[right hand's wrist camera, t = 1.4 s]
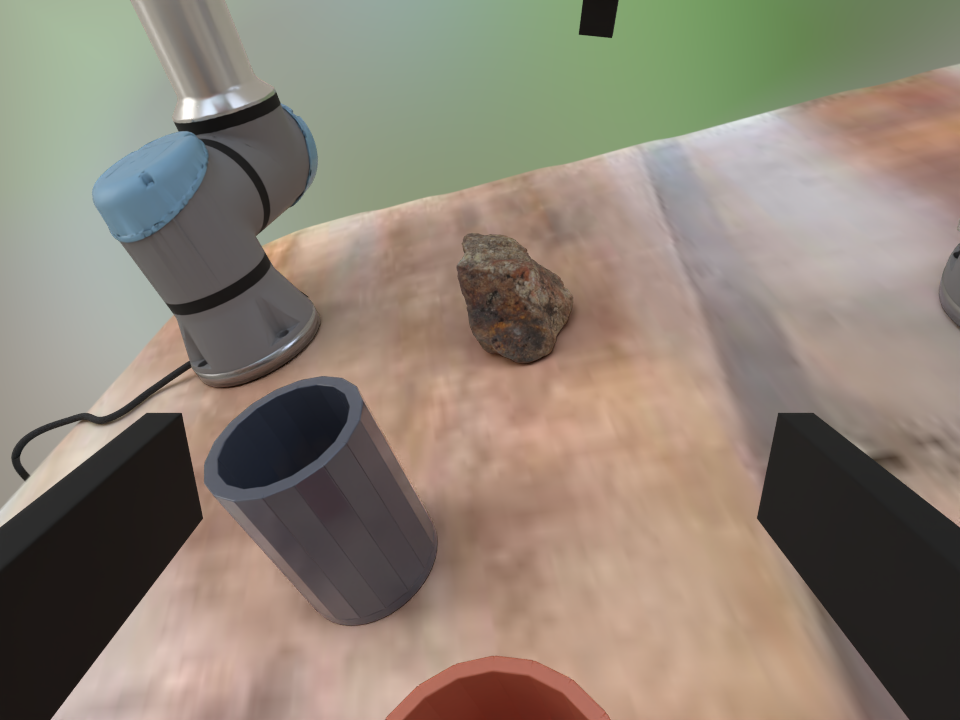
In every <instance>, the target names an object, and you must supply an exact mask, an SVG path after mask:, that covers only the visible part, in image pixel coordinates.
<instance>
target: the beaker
mask: <svg viewBox="0 0 960 720" xmlns="http://www.w3.org/2000/svg"><path fill="white" fill-rule="evenodd" d="M204 484H205V485H206V486H207V488H208V489H209V490H210V492H211V493H212V494H213V496H214V497H215V498H216V499H217V500H218V501H219V502H220V504H221V505H222V506H223V507H224V508H225V509H226V510H227V511H228V512H229V514H230V515H231V516H232V517H233V518H234V519H235V520H236V521H237V522H238V524H239V525H240V526H241V527H242V528H243V529H244V530H245V531H246V533H247V534H248V535H249V536H250V537H251V538H252V539H253V540H254V541H255V543H256V544H257V545H258V546H259V547H260V548H261V549H262V550H263V551H264V553H265V554H266V555H267V556H268V557H269V558H270V559H271V560H272V562H273V563H274V564H275V565H276V566H277V567H278V568H279V569H280V570H281V572H282V573H283V574H284V575H285V576H286V577H287V578H288V579H289V580H290V582H291V583H292V584H293V585H294V586H295V587H296V588H297V589H298V591H299V592H300V593H301V594H302V595H303V596H304V597H305V598H306V599H307V601H308V602H309V603H310V604H311V605H312V606H313V607H314V608H315V609H316V611H318V612H319V613H320V614H321V615H322V616H323V617H325V618H326V619H328V620H330V621H332V622H334V623H337V624H341V625H362V624H367V623H371V622H374V621H377V620H379V619H381V618H384V617H386V616H388V615H389V614H391V613H393V612H394V611H396V610H397V609H399V608H400V607H402V606H403V605H404V604H405V603H406V602H407V601H409V600H410V599H411V598H412V597H413V595H414V594H415V593H416V592H417V591H418V590H419V589H420V587H421V586H422V585H423V583H424V582H425V580H426V578H427V577H428V575H429V573H430V571H431V569H432V566H433V563H434V560H435V557H436V552H437V533H436V529H435V526H434V524H433V522H432V520H431V518H430V516H429V514H428V512H427V510H426V508H425V506H424V505H423V503H422V501H421V499H420V498H419V496H418V494H417V492H416V491H415V489H414V487H413V485H412V483H411V482H410V480H409V478H408V476H407V475H406V473H405V471H404V469H403V467H402V466H401V464H400V462H399V460H398V459H397V457H396V455H395V453H394V451H393V450H392V448H391V446H390V444H389V443H388V441H387V439H386V437H385V435H384V434H383V432H382V430H381V428H380V427H379V425H378V423H377V421H376V419H375V418H374V416H373V414H372V412H371V411H370V409H369V407H368V405H367V403H366V402H365V400H364V398H363V396H362V395H361V393H360V391H359V389H358V387H357V386H355V385H353V384H352V383H350V382H348V381H347V380H345V379H343V378H338V377H327V376H321V377H315V378H310V379H304V380H300V381H297V382H294V383H292V384H289V385H287V386H284V387H282V388H279V389H277V390H275V391H273V392H271V393H270V394H268V395H266V396H265V397H263V398H261V399H260V400H258V401H256V402H255V403H253V404H252V405H250V406H249V407H248V408H247V409H245V410H244V411H243V412H242V413H241V414H240V415H238V416H237V417H236V418H235V419H234V420H233V421H231V422H230V423H229V424H228V426H227V427H226V428H225V429H224V431H223V432H222V433H221V434H220V435H219V437H218V438H217V439H216V440H215V442H214V444H213V445H212V448H211V450H210V452H209V454H208V456H207V459H206V461H205V464H204Z"/></svg>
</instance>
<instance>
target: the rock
mask: <svg viewBox="0 0 960 720" xmlns="http://www.w3.org/2000/svg"><path fill="white" fill-rule="evenodd" d="M462 245H463V250H464V253H465V254H464V256H463V258H462V260H460V262H459V263H458V265H457V271H458V279H459V282H460V287H461V291H462V294H463V296H464V297H465V301H466V304H467V311H468V315H469V323H470V327H471V330H472V332H473V335H474V336H475V337H476V339H477V341H479V343H480V344H481V346H482V348H483V349H484V350H486V351H487V352H489V353H492V354H493V353H497V354H501V355H502V356H503V357H506V358H509V359H512V360H513V361H514V362H517V363H529V362H533V361H535V360H537V359H539V358H541V357H543V356H546V355H548V354H549V353H551V351H552V349H553V346H554V344H555V342H556V336H557V334H558V333H559V331H560V330H561V329H562V327H563V326H564V324H566V323H567V320H568V317H569V313H570V312H571V309H572V303H573V296H572V294H571V293H570V292H569V291H568V289H565V287H564V286H563V285H564V284H563V282H562V281H561V278H560V277H559V276H557V275H556V274H554V273H552V272H551V271H550V270H547V269H545V268H544V267H543V266H541V265H539V264H538V263H536V262H535V261H534V260H532V259H531V258H530V256H529V255H528V253H527V249H526V248H524V247H522V246H521V245H520V244H519V243H518V242H516V240H514V239H512V238H508V237H507V236H504V235H492V234H490V235H486V236H484V235H481V234H478V233H470V234H467V235H466V236H465V237H464V240H463V243H462Z"/></svg>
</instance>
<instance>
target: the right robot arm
mask: <svg viewBox="0 0 960 720" xmlns="http://www.w3.org/2000/svg"><path fill="white" fill-rule="evenodd" d="M957 230H958V231H959V232H960V220H959V224H958V229H957ZM939 297H940V301H941V304H942V307H943V308H944V310H945V312H946V313H947V314H948V316H949V317H950V318H951V319H952V320H953V321H954V322H955V323H956V324H957V325H959V326H960V243H959V244H958V245H957V247H956V248H955V249H954V251H953V252H952V254H951V255H950V257H949V259H948V262H947V264H946V267H945V268H944V271H943V275H942V279H941V284H940V289H939ZM202 519H203V516H202V511H201V506H200V501H199V496H198V491H197V486H196V481H195V477H194V472H193V467H192V462H191V457H190V452H189V447H188V442H187V437H186V432H185V427H184V422H183V417H182V413H146V414H145V415H144V416H142V417H141V418H140V419H138V420H137V421H136V422H135V423H133V424H132V425H131V426H129V427H128V428H127V429H126V430H124V431H123V432H122V433H121V434H119V435H118V436H117V437H115V438H114V439H113V440H112V441H110V442H109V443H108V444H106V445H105V446H104V447H103V448H101V449H100V450H99V451H97V452H96V453H95V454H94V455H92V456H91V457H90V458H89V459H87V460H86V461H85V462H83V463H82V464H81V465H80V466H78V467H77V468H76V469H74V470H73V471H72V472H71V473H69V474H68V475H67V476H65V477H64V478H63V479H62V480H60V481H59V482H58V483H57V484H55V485H54V486H53V487H51V488H50V489H49V490H48V491H46V492H45V493H44V494H42V495H41V496H40V497H39V498H37V499H36V500H35V501H33V502H32V503H31V504H30V505H28V506H27V507H26V508H25V509H23V510H22V511H21V512H19V513H18V514H17V515H16V516H14V517H13V518H12V519H10V520H9V521H8V522H7V523H5V524H4V525H3V526H1V527H0V720H51V718H52V717H53V716H54V714H55V713H56V712H57V710H58V709H59V708H60V706H61V705H62V704H63V703H64V701H65V700H66V699H67V697H68V696H69V695H70V693H71V692H72V691H73V689H74V688H75V687H76V685H77V684H78V683H79V681H80V680H81V679H82V677H83V676H84V675H85V673H86V672H87V671H88V670H89V668H90V667H91V666H92V664H93V663H94V662H95V660H96V659H97V658H98V656H99V655H100V654H101V652H102V651H103V650H104V648H105V647H106V646H107V644H108V643H109V642H110V640H111V639H112V638H113V637H114V635H115V634H116V633H117V631H118V630H119V629H120V627H121V626H122V625H123V623H124V622H125V621H126V619H127V618H128V617H129V615H130V614H131V613H132V611H133V610H134V609H135V607H136V606H137V605H138V604H139V602H140V601H141V600H142V598H143V597H144V596H145V594H146V593H147V592H148V590H149V589H150V588H151V586H152V585H153V584H154V582H155V581H156V580H157V578H158V577H159V576H160V574H161V573H162V572H163V571H164V569H165V568H166V567H167V565H168V564H169V563H170V561H171V560H172V559H173V557H174V556H175V555H176V553H177V552H178V551H179V549H180V548H181V547H182V545H183V544H184V543H185V541H186V540H187V539H188V538H189V536H190V535H191V534H192V532H193V531H194V530H195V528H196V527H197V526H198V524H199V523H200V522H201V520H202ZM757 519H758V520H759V522H760V523H761V524H762V526H763V527H764V528H765V530H766V531H767V532H768V534H769V535H770V536H771V538H772V539H773V540H774V541H775V543H776V544H777V545H778V547H779V548H780V549H781V551H782V552H783V553H784V555H785V556H786V557H787V559H788V560H789V561H790V563H791V564H792V565H793V567H794V568H795V569H796V571H797V572H798V573H799V574H800V576H801V577H802V578H803V580H804V581H805V582H806V584H807V585H808V586H809V588H810V589H811V590H812V592H813V593H814V594H815V596H816V597H817V598H818V600H819V601H820V602H821V604H822V605H823V606H824V607H825V609H826V610H827V611H828V613H829V614H830V615H831V617H832V618H833V619H834V621H835V622H836V623H837V625H838V626H839V627H840V629H841V630H842V631H843V633H844V634H845V635H846V637H847V638H848V639H849V640H850V642H851V643H852V644H853V646H854V647H855V648H856V650H857V651H858V652H859V654H860V655H861V656H862V658H863V659H864V660H865V662H866V663H867V664H868V666H869V667H870V668H871V670H872V671H873V672H874V673H875V675H876V676H877V677H878V679H879V680H880V681H881V683H882V684H883V685H884V687H885V688H886V689H887V691H888V692H889V693H890V695H891V696H892V697H893V699H894V700H895V701H896V703H897V704H898V705H899V706H900V708H901V709H902V710H903V712H904V713H905V714H906V716H907V717H908V718H909V720H960V527H959V526H957V525H956V524H955V523H953V522H952V521H951V520H950V519H948V518H947V517H946V516H944V515H943V514H942V513H941V512H939V511H938V510H937V509H935V508H934V507H933V506H932V505H930V504H929V503H928V502H927V501H925V500H924V499H923V498H921V497H920V496H919V495H918V494H916V493H915V492H914V491H912V490H911V489H910V488H909V487H907V486H906V485H905V484H903V483H902V482H901V481H900V480H898V479H897V478H896V477H895V476H893V475H892V474H891V473H889V472H888V471H887V470H886V469H884V468H883V467H882V466H880V465H879V464H878V463H877V462H875V461H874V460H873V459H871V458H870V457H869V456H868V455H866V454H865V453H864V452H863V451H861V450H860V449H859V448H857V447H856V446H855V445H854V444H852V443H851V442H850V441H848V440H847V439H846V438H845V437H843V436H842V435H841V434H839V433H838V432H837V431H836V430H834V429H833V428H832V427H831V426H829V425H828V424H827V423H825V422H824V421H823V420H822V419H820V418H819V417H818V416H816V415H815V414H814V413H778V417H777V422H776V427H775V432H774V437H773V442H772V447H771V452H770V457H769V462H768V467H767V472H766V477H765V481H764V486H763V491H762V496H761V501H760V506H759V511H758V516H757Z"/></svg>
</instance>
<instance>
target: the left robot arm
mask: <svg viewBox="0 0 960 720" xmlns="http://www.w3.org/2000/svg"><path fill="white" fill-rule="evenodd" d="M130 1H131V3H132V5H133V7H134V9H135V11H136V13H137V15H138V17H139V19H140V21H141V23H142V25H143V27H144V29H145V31H146V33H147V35H148V37H149V39H150V42H151V44H152V45H153V48H154V50H155V52H156V54H157V56H158V58H159V60H160V62H161V64H162V66H163V68H164V70H165V72H166V74H167V76H168V78H169V80H170V82H171V84H172V86H173V88H174V90H175V93H176V95H177V104H176V107H175V110H174V113H173V116H172V119H173V121H174V123H175V125H176V127H177V129H178V131H179V132H176V133H172V134H169V135H166V136H164V137H161V138H159V139H156V140H154V141H152V142H150V143H148V144H146V145H144V146H143V147H141V148H140V149H139V150H138V151H134V152H132V153H130V154H128V155H127V156H125V157H124V158H122V159H121V160H119V161H118V162H116V163H115V164H114V165H112V166H111V167H110V168H109V169H107V170H106V171H105V172H104V173H103V174H102V175H101V176H100V177H99V179H98V180H97V181H96V183H95V185H94V187H93V192H92V195H93V202H94V205H95V206H96V208H97V210H98V211H99V213H100V214H101V216H102V217H103V219H104V221H105V222H106V224H107V225H108V228H109V230H110V233H111V234H112V235H113V237H114V238H115V239H117V240H118V241H120V242H121V244H122V245H123V247H124V248H125V249H126V250H127V252H128V253H129V255H130V256H131V257H132V259H133V260H134V261H135V263H136V264H137V265H138V267H139V268H140V269H141V271H142V272H143V274H144V275H145V276H146V278H147V279H148V280H149V282H150V283H151V284H152V286H153V287H154V288H155V290H156V291H157V292H158V294H159V295H160V296H161V298H162V299H163V300H164V302H165V303H166V304H167V306H168V307H169V308H170V310H171V311H172V312H173V314H174V315H175V317H176V318H177V321H178V324H179V327H180V330H181V334H182V337H183V340H184V343H185V347H186V350H187V353H188V356H189V360H190V361H188V362H187V363H185V364H184V365H182V366H181V367H179V368H178V369H176V370H175V371H173V372H172V373H170V374H169V375H167V376H166V377H164V378H163V379H162V380H160V381H159V382H157V383H156V384H154V385H153V386H151V387H150V388H149V389H147V390H146V391H144V392H143V393H142V394H140V395H139V396H138V397H137V398H135V399H134V400H133V401H131V402H130V403H129V404H127V405H126V406H124V407H123V408H121V409H120V410H118V411H116V412H114V413H112V414H110V415H107V416H104V417H97V416H94V415H92V414H89V413H81V414H77V415H74V416H71V417H68V418H64V419H61V420H58V421H55V422H52V423H49V424H46V425H44V426H42V427H39V428H37V429H35V430H33V431H32V432H30V433H28V434H27V435H25V436H24V437H23V438H22V439H21V440H20V441H19V442H18V443H17V444H16V446H15V448H14V450H13V452H12V457H11V458H12V464H13V467H14V469H15V470H16V472H17V473H18V474H19V476H20V477H21V478H22V479H23V480H24V481H25V482H26V480H27V479H28V478H29V477H30V475H29V473H28V472H27V471H26V470H25V469H24V467H23V466H22V464H21V461H20V455H21V452H22V450H23V448H24V447H25V445H26V444H27V443H28V442H29V441H30V440H32V439H33V438H35V437H36V436H38V435H40V434H42V433H44V432H46V431H49V430H51V429H54V428H57V427H60V426H63V425H66V424H69V423H73V422H76V421H79V420H89V421H91V422H93V423H96V424H103V423H107V422H110V421H113V420H115V419H117V418H119V417H121V416H123V415H124V414H126V413H128V412H129V411H131V410H132V409H133V408H135V407H136V406H137V405H139V404H140V403H141V402H142V401H144V400H145V399H146V398H148V397H149V396H150V395H152V394H153V393H155V392H156V391H157V390H159V389H160V388H162V387H163V386H165V385H166V384H167V383H169V382H170V381H172V380H173V379H175V378H176V377H178V376H179V375H181V374H182V373H184V372H185V371H187V370H188V369H190V368H191V367H192V369H193V370H194V371H195V373H196V374H197V375H198V376H199V378H200V379H201V380H202V382H203V383H205V384H206V385H209V386H212V387H229V386H235V385H239V384H243V383H246V382H249V381H252V380H254V379H257V378H259V377H262V376H264V375H266V374H268V373H270V372H272V371H273V370H275V369H277V368H279V367H280V366H282V365H283V364H285V363H286V362H288V361H289V360H291V359H292V358H293V357H295V356H296V355H297V354H298V353H299V352H301V351H302V350H303V349H304V348H305V347H306V346H307V345H308V344H309V342H310V341H311V340H312V339H313V337H314V336H315V334H316V333H317V331H318V329H319V326H320V316H319V314H318V312H317V310H316V308H315V307H314V305H313V303H312V302H311V300H309V299H308V298H307V297H308V296H307V295H305V294H304V293H302V292H300V291H299V290H298V289H297V288H296V287H295V286H294V285H293V284H292V283H290V282H289V281H288V280H287V279H286V278H285V277H284V276H283V275H282V274H280V273H279V272H278V271H277V270H276V269H275V268H274V267H273V265H272V263H271V262H270V260H269V258H268V257H267V255H266V253H265V252H264V250H263V248H262V246H261V245H260V243H259V241H258V239H257V238H256V236H257V235H258V234H259V233H260V232H261V231H262V230H264V229H265V228H266V227H267V226H268V225H269V224H271V223H272V222H273V221H274V220H275V219H276V218H277V217H279V216H280V215H281V214H282V213H283V212H284V211H285V210H287V209H288V208H289V207H292V206H293V205H295V204H296V203H297V202H298V201H299V200H300V199H301V197H302V196H303V194H304V193H305V191H306V190H307V189H308V188H309V187H310V185H311V184H312V182H313V180H314V178H315V175H316V171H317V164H318V156H317V149H316V145H315V141H314V139H313V136H312V134H311V132H310V130H309V128H308V127H307V125H306V123H305V122H304V121H303V120H302V118H301V117H300V116H296V115H294V114H293V110H292V109H290V108H289V107H287V106H286V105H284V104H281V103H280V101H279V98H278V96H277V93H276V90H275V88H274V87H273V86H271V85H269V84H268V83H266V82H264V81H263V80H261V79H259V78H258V77H257V76H256V75H255V74H254V72H253V70H252V67H251V65H250V62H249V60H248V57H247V55H246V52H245V49H244V47H243V44H242V42H241V39H240V37H239V35H238V32H237V29H236V27H235V24H234V22H233V19H232V17H231V15H230V12H229V10H228V7H227V4H226V2H225V0H130ZM617 6H618V0H583V5H582V13H581V21H580V29H579V35H588V36H598V37H608V38H612V36H613V30H614V24H615V18H616V12H617Z"/></svg>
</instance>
